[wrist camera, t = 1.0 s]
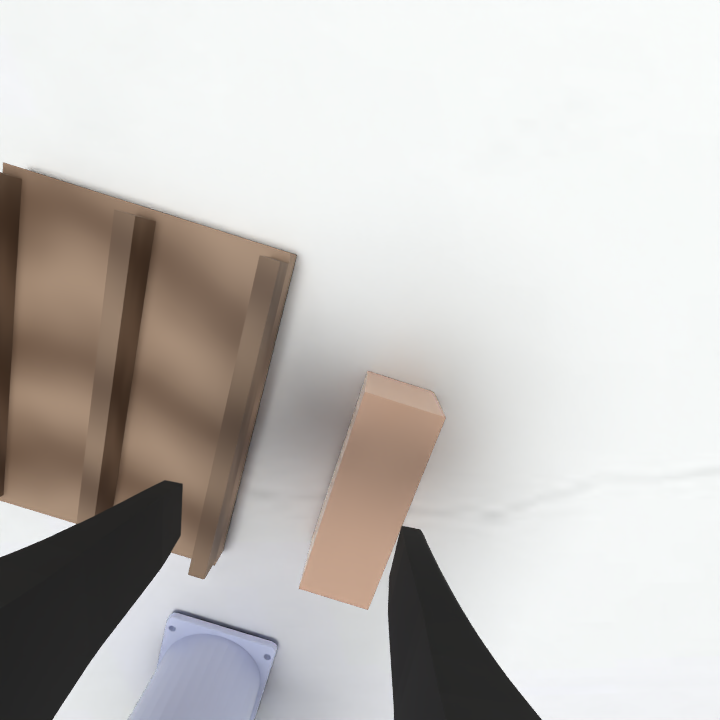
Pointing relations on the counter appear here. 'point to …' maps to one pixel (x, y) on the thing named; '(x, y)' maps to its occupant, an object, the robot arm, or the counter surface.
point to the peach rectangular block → (371, 489)
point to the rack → (129, 355)
